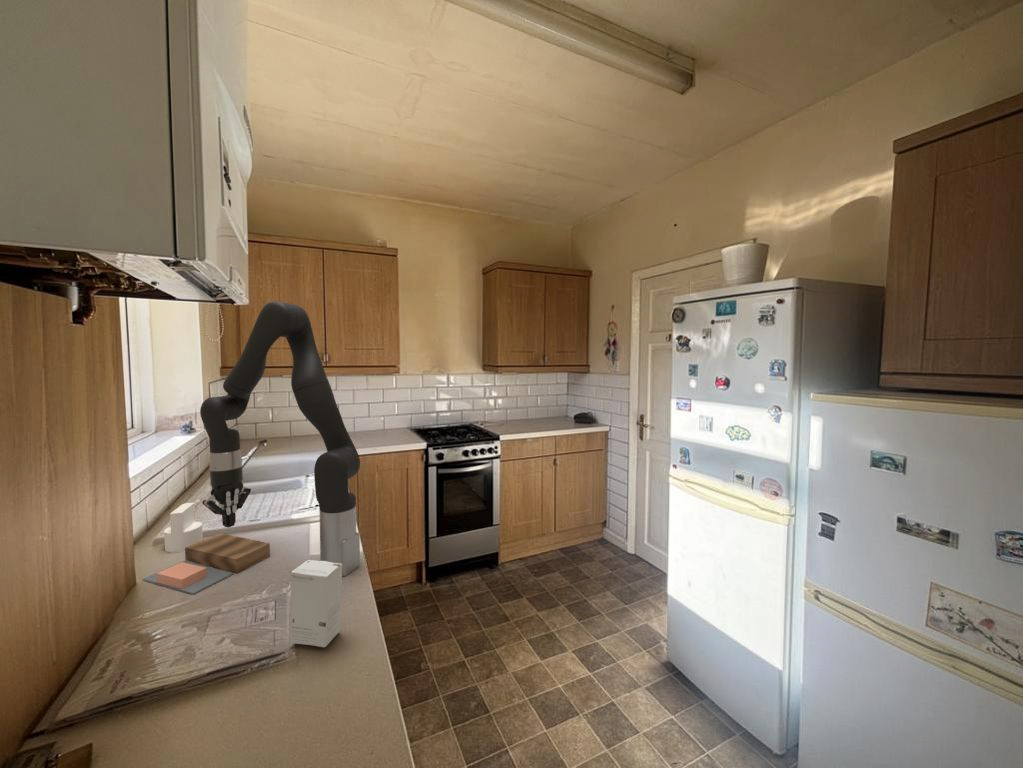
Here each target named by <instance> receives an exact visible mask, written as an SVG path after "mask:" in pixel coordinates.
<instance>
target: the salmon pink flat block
mask: <svg viewBox="0 0 1023 768" xmlns="http://www.w3.org/2000/svg"><path fill="white" fill-rule="evenodd" d="M181 562H182V563H181ZM181 562H179V563H176V564H177V565H176V564H174V565H175V566H174V565H172V566H173V567H172V566H170V568H169V567H167V568H168V569H167V568H165V569H166V570H165V569H162V570H163V571H162V570H160V571H161V572H160V571H158V572H159V573H158V572H156V573H157V583H161V584H165V585H169V586H172V587H176V588H180V589H183V588H185V587H187V586H189V585H191V584H193V583H195V582H197V581H199V580H201V579H203V578H205V577H207V568H205V567H201V566H197V565H192V564H188V563H184V562H183V561H181Z"/></svg>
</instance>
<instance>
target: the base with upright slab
mask: <svg viewBox="0 0 1023 768" xmlns="http://www.w3.org/2000/svg"><path fill="white" fill-rule="evenodd" d="M195 504H196V503H195V502H187V503H182V504H180V505H179V506H178V507H176V509H174V510H173V511H171V512H170V514H169V519H170V520H169V522H170V523H169V524H170V526H168V527H167V528H165V529H164V531H163V533H164V535H163V536H164V551H165V552H166V553H167V552H168V553H180V552H185V547H187V546H190V545H192V544H195V543H197V542H200V541H202V540H204V538H203V535H204V534H203V523H202V522H201V521H196V505H195Z"/></svg>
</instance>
